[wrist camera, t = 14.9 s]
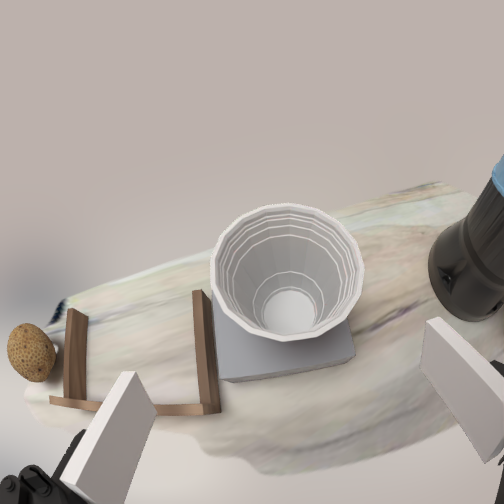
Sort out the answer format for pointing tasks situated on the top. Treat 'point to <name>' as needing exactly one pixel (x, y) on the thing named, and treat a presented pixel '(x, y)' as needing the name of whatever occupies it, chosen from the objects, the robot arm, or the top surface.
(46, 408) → the top surface
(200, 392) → the brown wooden frame
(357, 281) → the plastic cup
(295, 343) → the grey square block
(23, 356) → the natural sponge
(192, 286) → the top surface
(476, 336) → the top surface
